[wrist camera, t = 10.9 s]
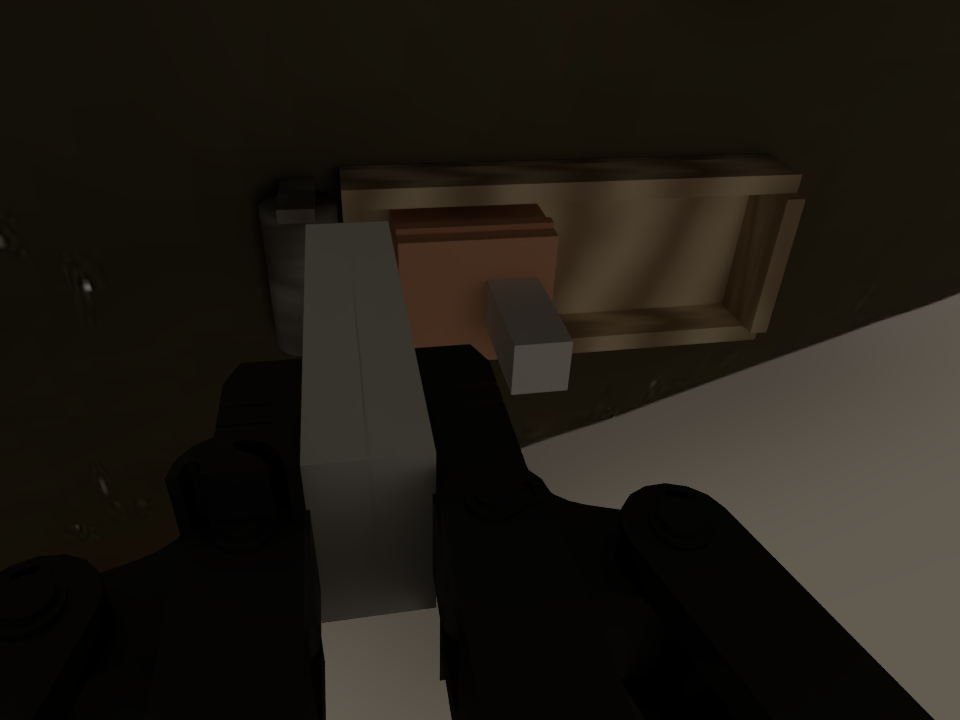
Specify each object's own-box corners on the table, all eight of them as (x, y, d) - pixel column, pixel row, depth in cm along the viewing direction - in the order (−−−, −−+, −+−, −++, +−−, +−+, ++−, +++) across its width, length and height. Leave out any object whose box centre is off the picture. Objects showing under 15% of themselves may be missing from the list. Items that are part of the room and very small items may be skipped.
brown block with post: (393, 320, 49) (414, 446, 38) (388, 196, 44) (412, 301, 33) (523, 311, 50) (579, 430, 40) (533, 191, 45) (599, 289, 35)
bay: (281, 342, 49) (278, 385, 45) (257, 168, 42) (251, 200, 38) (728, 311, 55) (761, 346, 51) (769, 153, 48) (811, 180, 44)
